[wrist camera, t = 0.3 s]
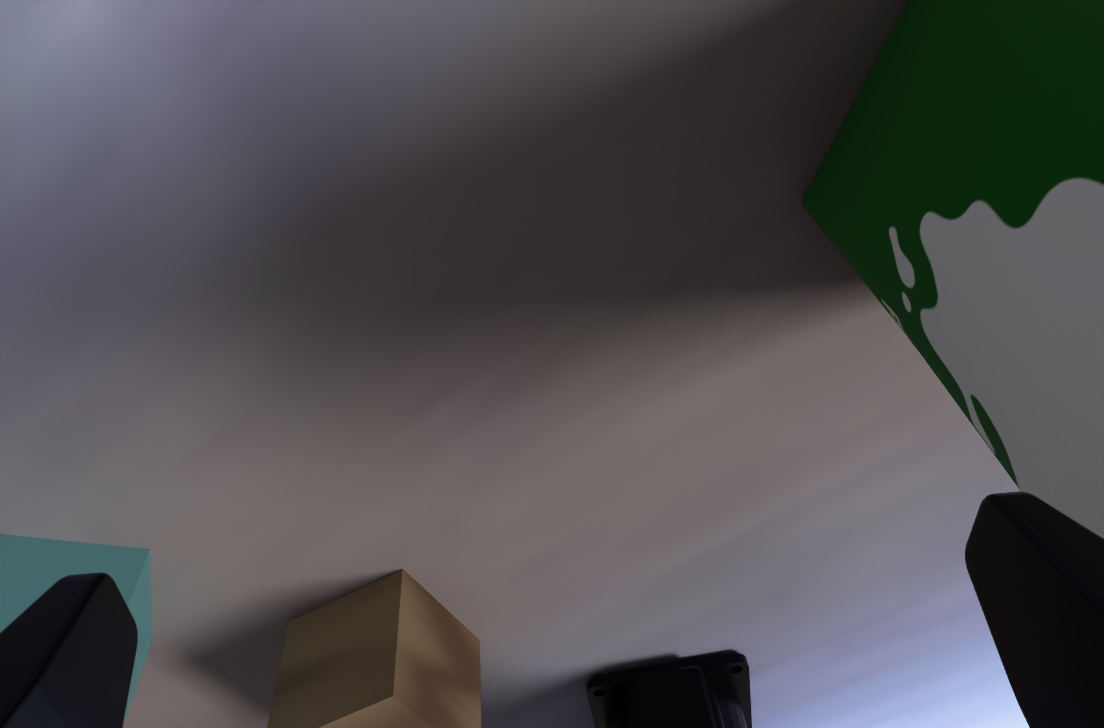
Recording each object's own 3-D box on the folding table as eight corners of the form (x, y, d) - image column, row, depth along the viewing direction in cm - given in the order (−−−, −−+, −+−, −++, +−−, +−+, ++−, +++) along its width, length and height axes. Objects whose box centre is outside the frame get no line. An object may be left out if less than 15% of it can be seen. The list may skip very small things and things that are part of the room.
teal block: (152, 639, 31) (105, 774, 27) (0, 628, 30) (-71, 765, 26) (150, 547, 28) (98, 681, 24) (-17, 530, 27) (-100, 668, 23)
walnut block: (479, 638, 33) (481, 765, 29) (372, 684, 34) (360, 813, 30) (402, 566, 30) (393, 695, 26) (288, 619, 31) (262, 751, 27)
